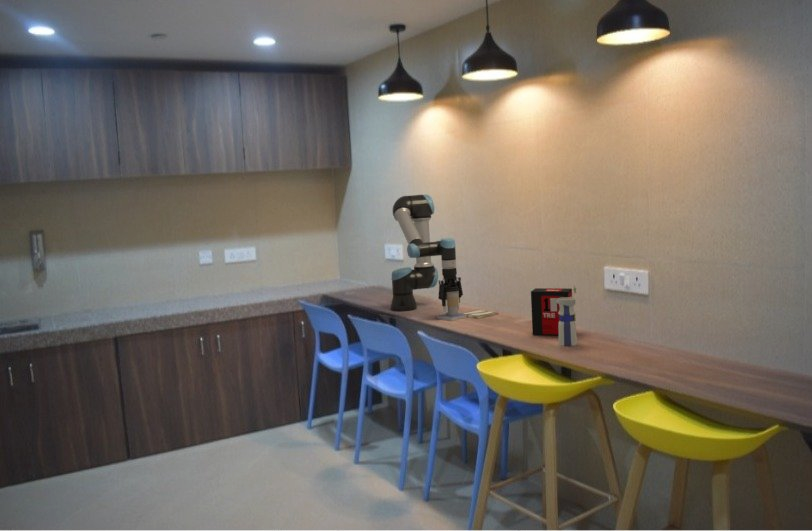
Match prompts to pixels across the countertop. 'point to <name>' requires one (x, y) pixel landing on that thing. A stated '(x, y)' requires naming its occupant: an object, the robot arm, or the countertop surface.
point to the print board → (479, 314)
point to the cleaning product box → (546, 310)
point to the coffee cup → (452, 300)
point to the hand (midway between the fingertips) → (451, 310)
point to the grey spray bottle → (567, 321)
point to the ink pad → (451, 317)
